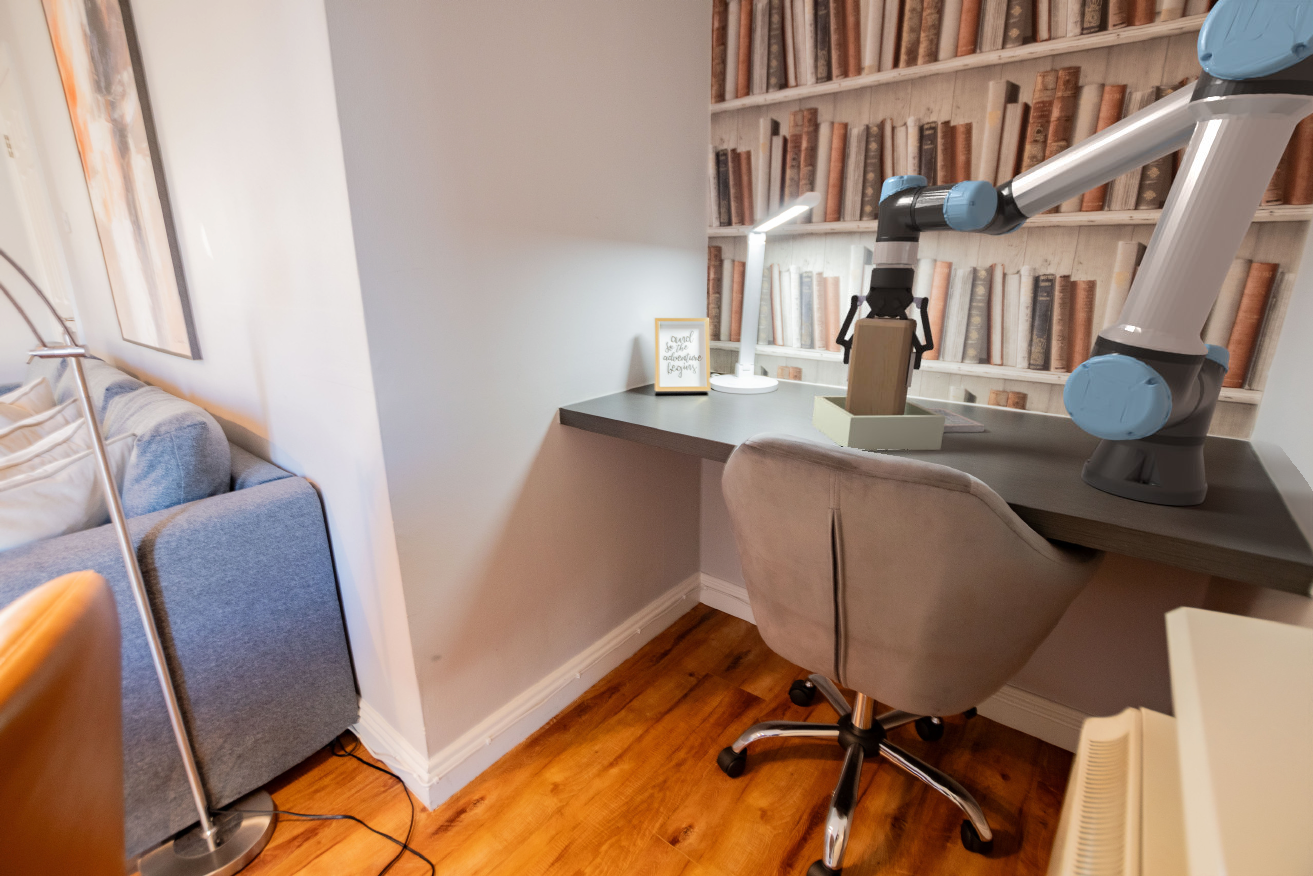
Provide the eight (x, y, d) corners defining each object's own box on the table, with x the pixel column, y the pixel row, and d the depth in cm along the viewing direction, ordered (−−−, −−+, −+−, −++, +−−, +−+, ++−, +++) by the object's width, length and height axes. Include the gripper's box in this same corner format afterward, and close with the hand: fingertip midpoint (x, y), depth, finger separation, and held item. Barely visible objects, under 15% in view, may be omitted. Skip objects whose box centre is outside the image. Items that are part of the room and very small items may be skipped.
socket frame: (983, 432, 121) (984, 425, 120) (914, 432, 119) (915, 425, 119) (941, 414, 136) (942, 408, 135) (879, 414, 134) (880, 408, 134)
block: (904, 417, 117) (918, 318, 111) (895, 428, 109) (910, 321, 103) (854, 410, 122) (865, 315, 116) (842, 420, 114) (854, 318, 108)
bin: (940, 449, 108) (945, 416, 107) (846, 451, 107) (850, 417, 105) (892, 424, 126) (896, 395, 124) (812, 425, 124) (814, 395, 122)
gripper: (961, 267, 106) (942, 385, 112) (833, 266, 115) (822, 375, 121) (963, 267, 99) (942, 392, 105) (827, 265, 108) (816, 381, 114)
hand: (878, 383), depth 113 cm, fingers closed on block, 10 cm apart
